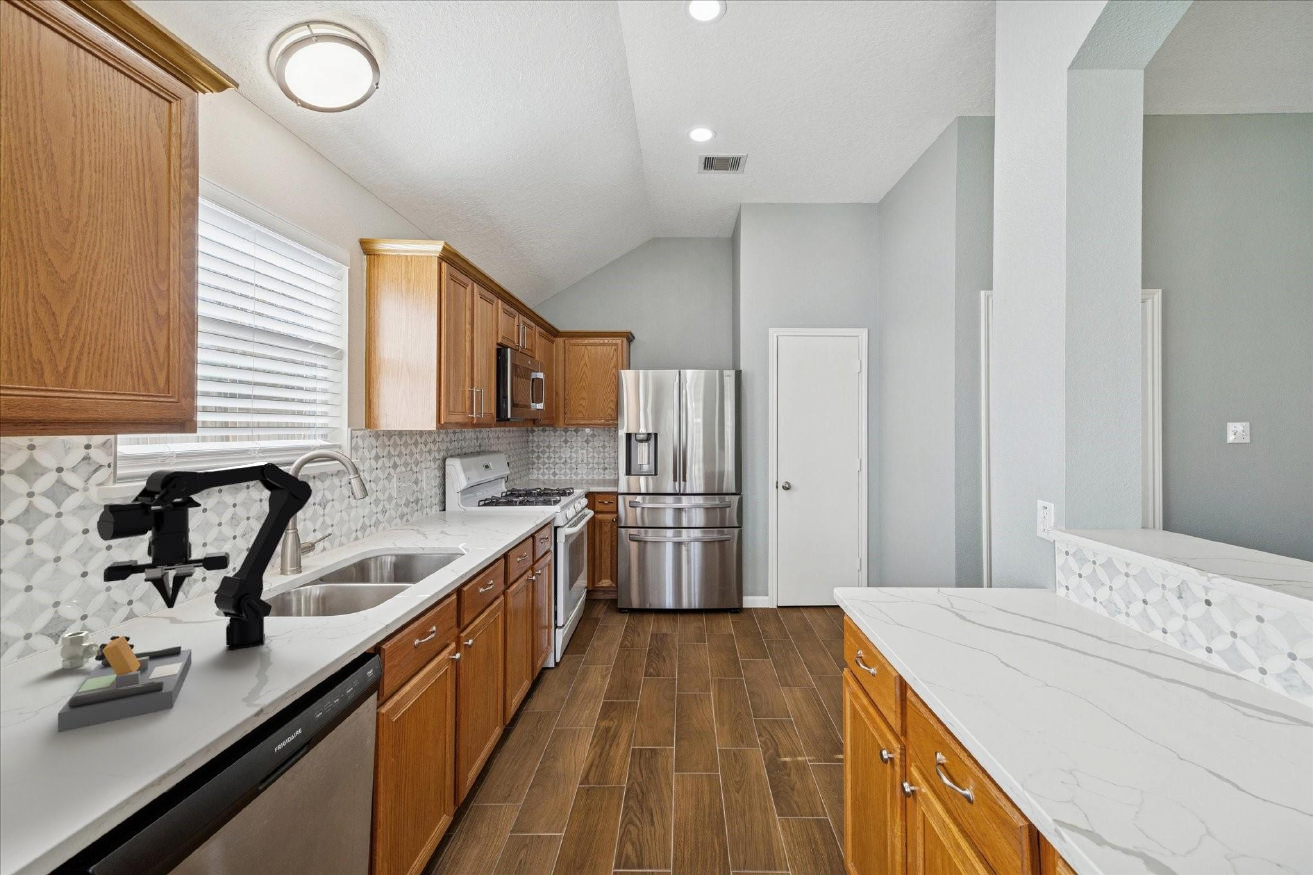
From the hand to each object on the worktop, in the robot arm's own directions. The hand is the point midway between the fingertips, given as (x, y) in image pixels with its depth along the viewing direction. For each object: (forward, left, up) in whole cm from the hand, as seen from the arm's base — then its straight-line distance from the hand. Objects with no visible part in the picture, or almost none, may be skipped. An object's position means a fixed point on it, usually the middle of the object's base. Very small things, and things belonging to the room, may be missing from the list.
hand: (171, 607), depth 112 cm
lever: (+4, +10, -10) cm, 14 cm away
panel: (+4, +10, -12) cm, 16 cm away
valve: (+14, -11, -13) cm, 22 cm away
